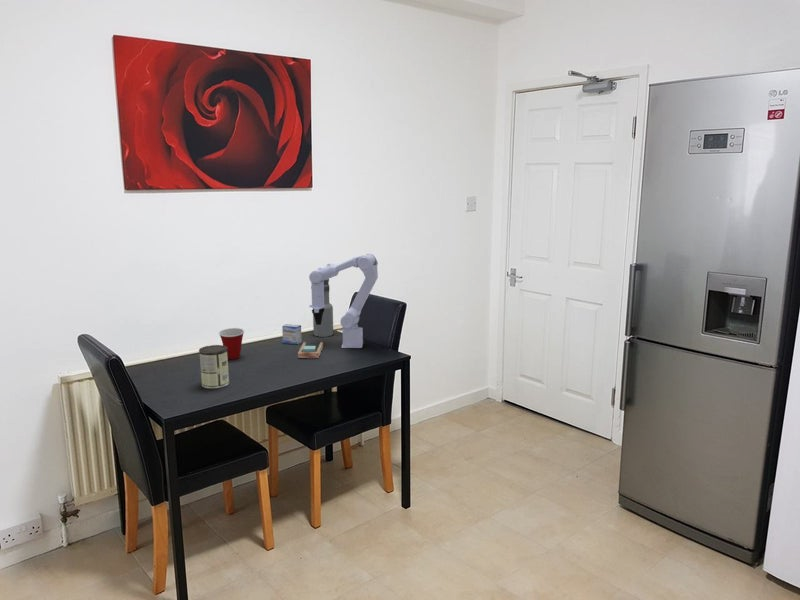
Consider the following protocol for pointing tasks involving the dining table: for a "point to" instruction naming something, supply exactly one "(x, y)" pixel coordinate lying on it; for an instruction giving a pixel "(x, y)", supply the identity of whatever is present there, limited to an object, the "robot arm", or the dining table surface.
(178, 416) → the dining table surface
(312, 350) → the block
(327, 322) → the water bottle
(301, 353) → the wooden tray
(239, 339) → the plastic cup
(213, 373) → the coffee can
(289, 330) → the medicine box
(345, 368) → the dining table surface
